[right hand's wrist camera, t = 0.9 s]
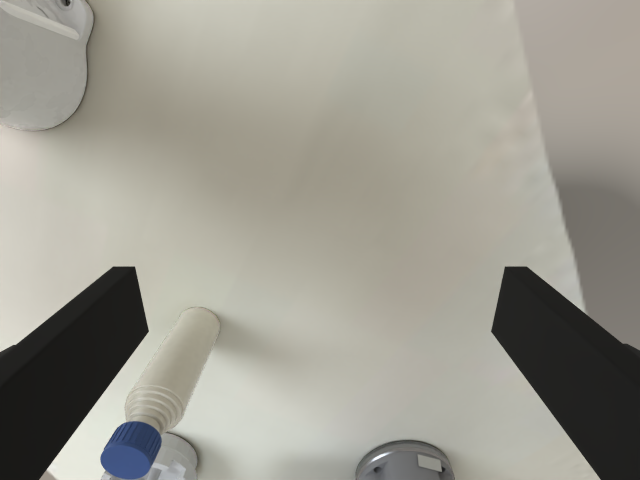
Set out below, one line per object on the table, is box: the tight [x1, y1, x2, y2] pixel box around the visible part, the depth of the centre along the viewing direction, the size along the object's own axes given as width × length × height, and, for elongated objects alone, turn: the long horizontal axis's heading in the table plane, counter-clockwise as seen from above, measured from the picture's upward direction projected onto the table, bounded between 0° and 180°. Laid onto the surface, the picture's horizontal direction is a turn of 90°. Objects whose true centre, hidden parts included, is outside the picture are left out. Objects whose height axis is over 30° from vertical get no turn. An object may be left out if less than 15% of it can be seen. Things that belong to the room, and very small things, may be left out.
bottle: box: [125, 307, 220, 435], centre depth 38 cm, size 6×6×19 cm
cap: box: [101, 421, 162, 480], centre depth 30 cm, size 4×4×2 cm
